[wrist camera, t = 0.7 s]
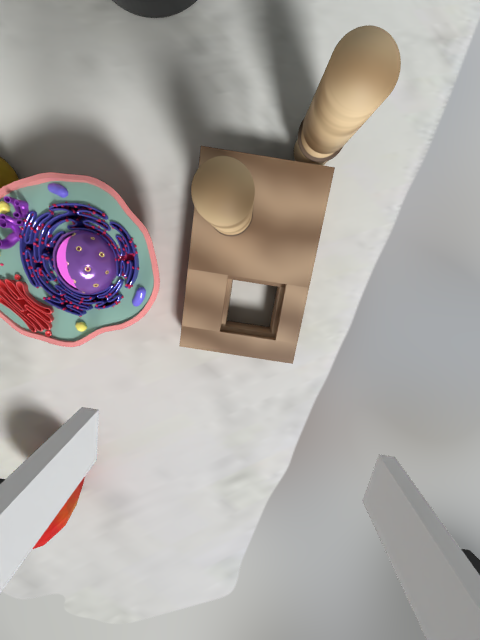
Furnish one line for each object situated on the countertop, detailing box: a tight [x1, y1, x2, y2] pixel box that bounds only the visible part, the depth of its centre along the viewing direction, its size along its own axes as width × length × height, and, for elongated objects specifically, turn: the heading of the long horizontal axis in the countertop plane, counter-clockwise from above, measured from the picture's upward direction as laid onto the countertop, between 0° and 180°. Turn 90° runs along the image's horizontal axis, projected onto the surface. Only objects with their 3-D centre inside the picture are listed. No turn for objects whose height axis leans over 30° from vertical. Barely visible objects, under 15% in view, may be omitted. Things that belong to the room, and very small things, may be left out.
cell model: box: [0, 172, 160, 347], centre depth 29 cm, size 17×20×11 cm
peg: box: [294, 26, 401, 166], centre depth 24 cm, size 5×5×14 cm
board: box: [180, 146, 335, 364], centre depth 27 cm, size 22×14×14 cm, turn 171°
